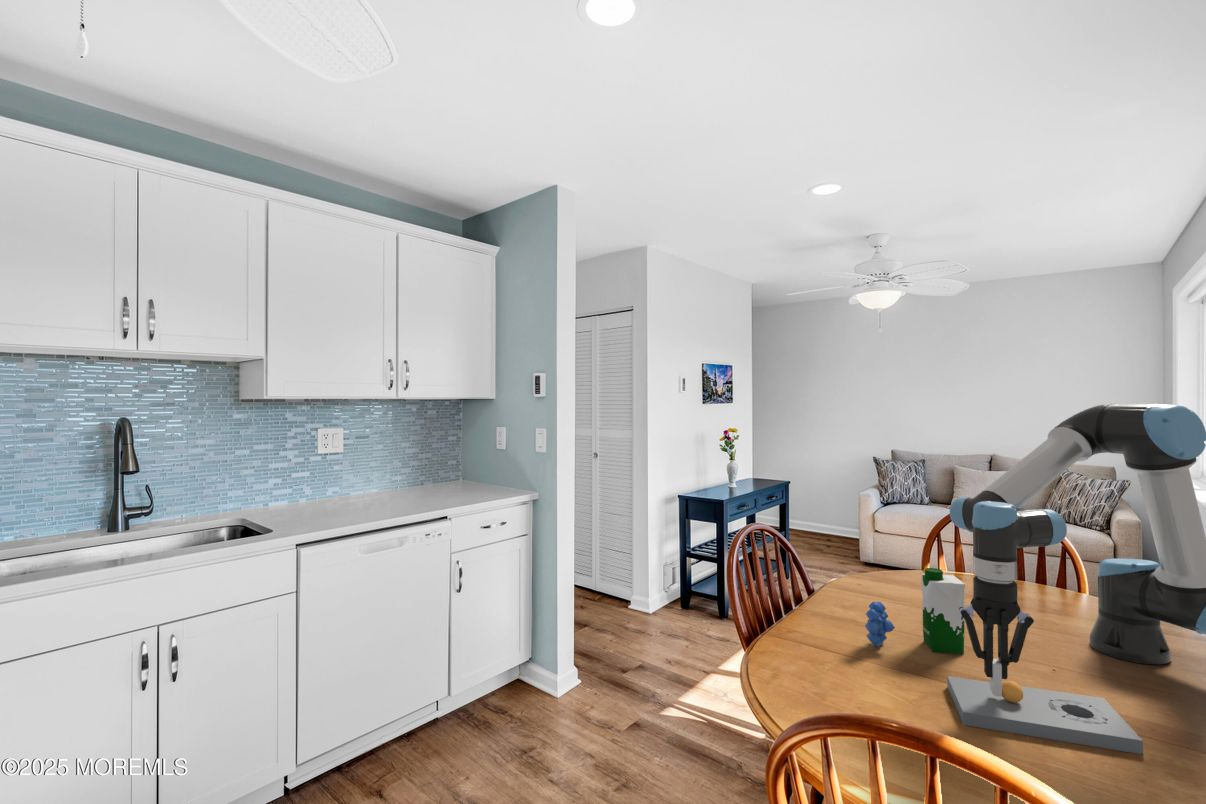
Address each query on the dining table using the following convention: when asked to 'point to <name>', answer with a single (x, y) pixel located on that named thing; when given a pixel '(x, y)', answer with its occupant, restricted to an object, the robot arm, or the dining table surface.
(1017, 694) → the ball
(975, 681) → the plate
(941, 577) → the milk carton
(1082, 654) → the dining table surface
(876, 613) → the grapes
